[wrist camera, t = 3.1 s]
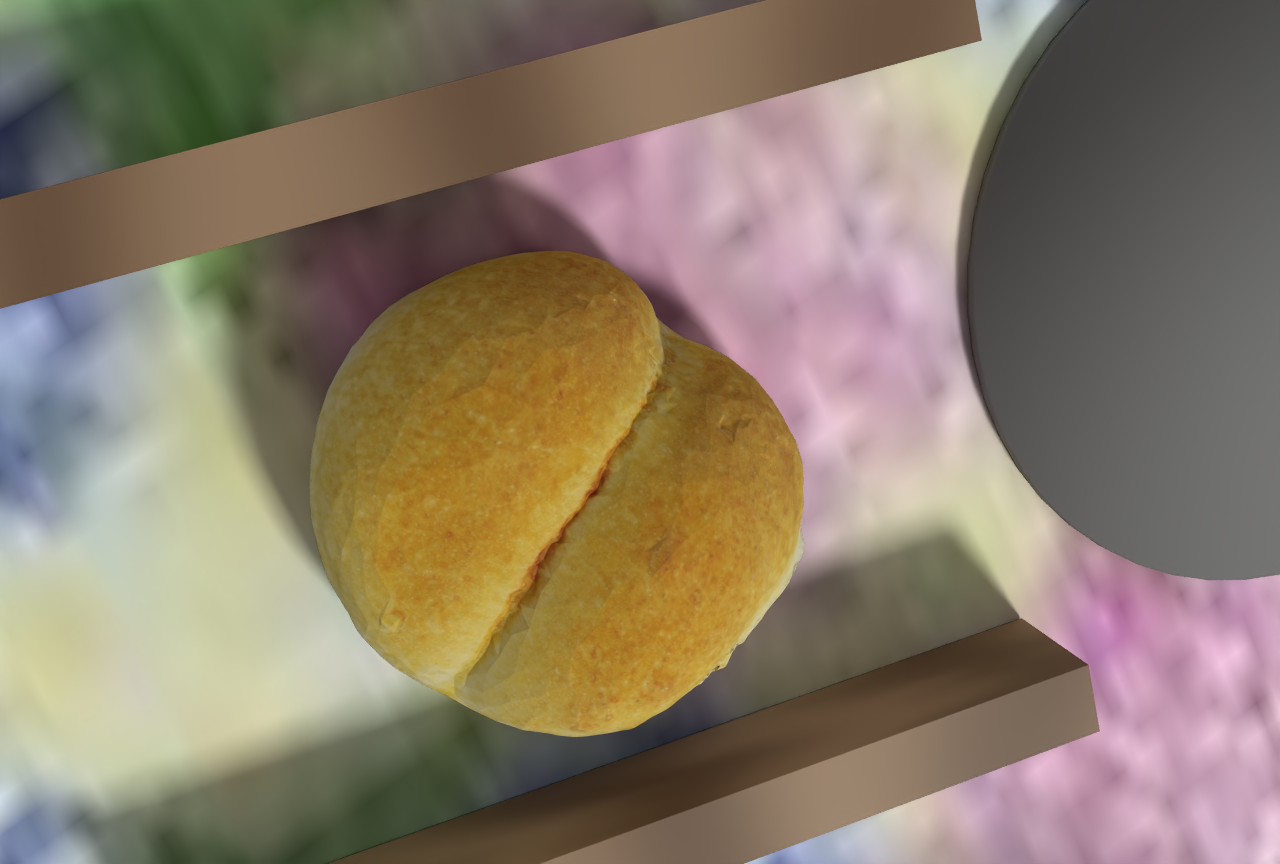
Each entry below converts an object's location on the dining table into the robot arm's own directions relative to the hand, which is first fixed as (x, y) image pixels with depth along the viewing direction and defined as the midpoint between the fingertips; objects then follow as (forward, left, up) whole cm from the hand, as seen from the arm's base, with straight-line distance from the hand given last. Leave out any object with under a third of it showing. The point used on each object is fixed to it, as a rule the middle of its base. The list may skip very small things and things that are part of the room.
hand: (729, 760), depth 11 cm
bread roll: (0, 0, -12) cm, 12 cm away
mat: (+16, 0, -12) cm, 20 cm away
